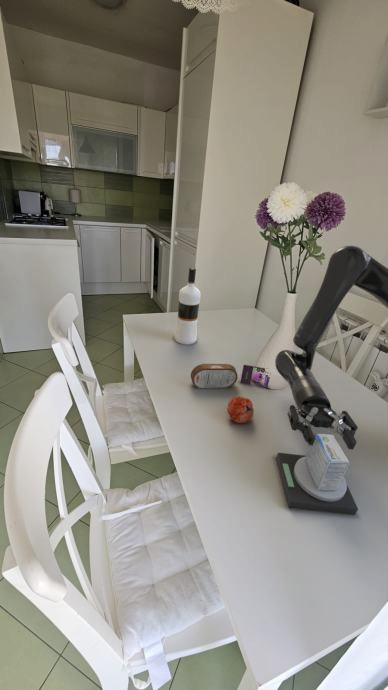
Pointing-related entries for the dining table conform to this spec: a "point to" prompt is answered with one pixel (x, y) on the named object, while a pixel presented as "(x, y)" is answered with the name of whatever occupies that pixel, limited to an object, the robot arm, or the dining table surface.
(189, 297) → the vodka
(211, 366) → the tin
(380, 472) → the dining table surface
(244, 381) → the purple box
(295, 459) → the kitchen scale
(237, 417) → the pomegranate
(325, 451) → the medicine box
